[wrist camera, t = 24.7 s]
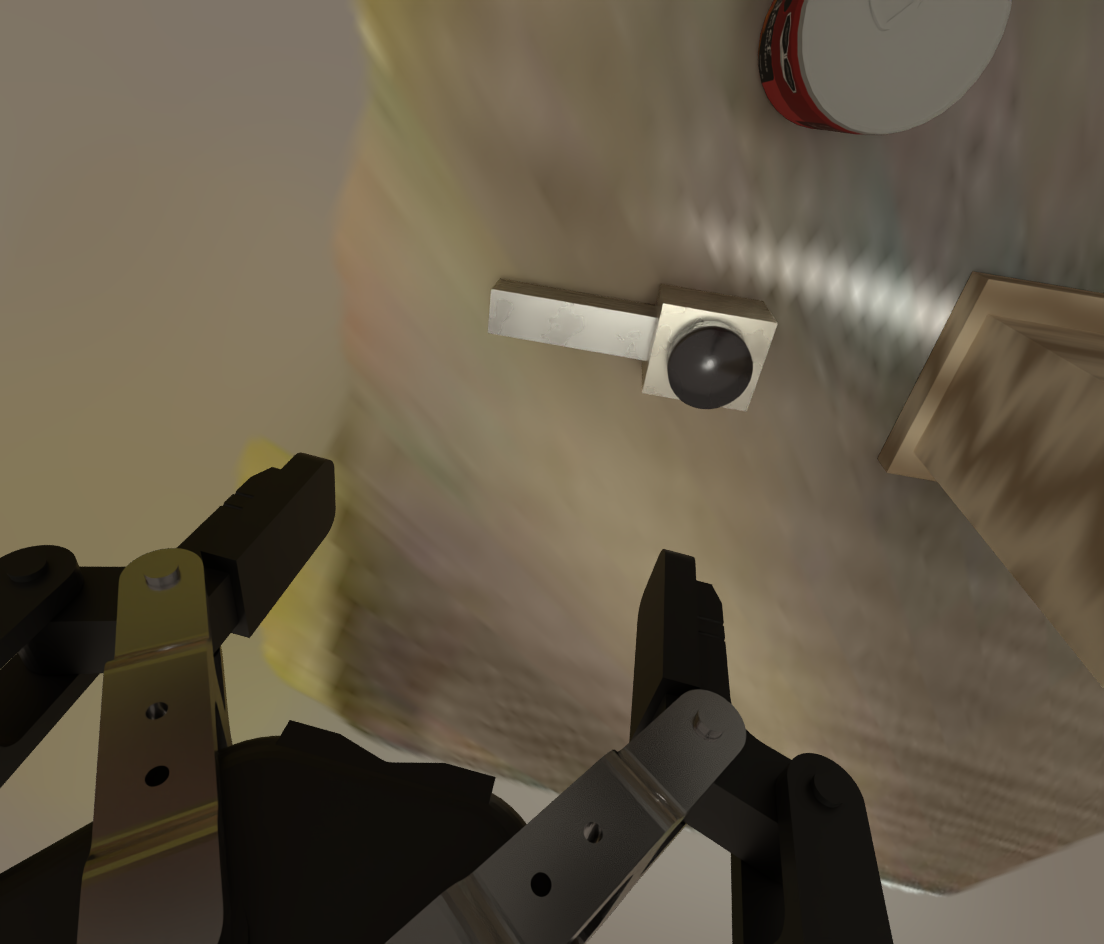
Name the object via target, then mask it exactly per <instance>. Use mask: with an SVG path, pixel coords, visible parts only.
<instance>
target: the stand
mask: <svg viewBox="0 0 1104 944" xmlns="http://www.w3.org/2000/svg"><path fill="white" fill-rule="evenodd" d="M877 459H878V460H879V462H880V463H881V465H882V466H883V468H884V469H885V471H886V472H887V473H892V474H898V475H903V476H909V477H914V478H920V479H925V480H931V481H937V482H938V483H939V484H940V486H941V487H942V488H943V489H944V491H945V492H946V493H947V494H948V496H949V497H950V498H951V499H952V501H953V502H954V503H955V504H956V506H957V507H958V508H959V509H960V510H961V512H962V513H963V514H964V515H965V517H966V518H967V519H968V520H969V522H970V523H971V524H972V525H973V527H974V528H975V529H976V530H977V532H978V533H979V534H980V535H981V537H982V538H983V539H984V540H985V542H986V543H987V544H988V545H989V547H990V548H991V549H992V550H993V552H994V553H995V554H996V555H997V556H998V558H999V559H1000V560H1001V561H1002V563H1003V564H1004V565H1005V566H1006V568H1007V569H1008V570H1009V571H1010V573H1011V574H1012V575H1013V576H1014V578H1015V579H1016V580H1017V581H1018V583H1019V584H1020V585H1021V586H1022V588H1023V589H1024V590H1025V591H1026V593H1027V594H1028V595H1029V596H1030V598H1031V599H1032V600H1033V601H1034V602H1035V604H1036V605H1037V606H1038V607H1039V609H1040V610H1041V611H1042V612H1043V614H1044V615H1045V616H1046V617H1047V619H1048V620H1049V621H1050V622H1051V624H1052V625H1053V626H1054V627H1055V629H1056V630H1057V631H1058V632H1059V634H1060V635H1061V636H1062V637H1063V639H1064V640H1065V641H1066V642H1067V644H1068V645H1069V646H1070V647H1071V648H1072V650H1073V651H1074V652H1075V653H1076V655H1077V656H1078V657H1079V658H1080V660H1081V661H1082V662H1083V663H1084V665H1085V666H1086V667H1087V668H1088V670H1089V671H1090V672H1091V673H1092V675H1093V676H1094V677H1095V678H1096V680H1097V681H1098V682H1099V683H1100V685H1101V686H1102V687H1103V688H1104V293H1098V292H1092V291H1086V290H1080V289H1074V288H1068V287H1062V286H1056V285H1050V284H1045V283H1039V282H1033V281H1027V280H1021V279H1015V278H1009V277H1003V276H997V275H991V274H985V273H979V272H972V274H971V276H970V278H969V280H968V281H967V283H966V285H965V287H964V289H963V291H962V293H961V295H960V297H959V299H958V301H957V303H956V305H955V307H954V309H953V311H952V313H951V315H950V317H949V319H948V321H947V323H946V325H945V327H944V329H943V331H942V333H941V335H940V337H939V339H938V340H937V342H936V344H935V346H934V348H933V350H932V352H931V354H930V356H929V358H928V360H927V362H926V364H925V366H924V368H923V370H922V372H921V374H920V376H919V378H918V380H917V382H916V384H915V386H914V388H913V390H912V392H911V394H910V396H909V398H908V399H907V401H906V403H905V405H904V407H903V409H902V411H901V413H900V415H899V417H898V419H897V421H896V423H895V425H894V427H893V429H892V431H891V433H890V435H889V437H888V439H887V441H886V443H885V445H884V447H883V449H882V451H881V453H880V455H879V457H878V458H877Z"/></svg>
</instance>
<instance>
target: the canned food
mask: <svg viewBox="0 0 1104 944" xmlns="http://www.w3.org/2000/svg"><path fill="white" fill-rule="evenodd" d="M1011 3H1012V0H774V1H773V3H772V5H771V7H770V9H769V11H768V13H767V15H766V18H765V21H764V25H763V28H762V31H761V36H760V43H759V50H758V57H759V72H760V76H761V81H762V85H763V87H764V90H765V92H766V95H767V97H768V99H769V100H770V101H771V103H772V104H773V106H774V107H775V109H776V110H777V111H778V112H779V113H781V114H782V115H783V116H784V117H785V118H786V119H788V120H790V121H792V122H793V123H795V124H797V125H800V126H804V127H808V128H813V129H820V130H828V131H835V132H843V133H851V134H865V135H885V134H891V133H897V132H901V131H906V130H908V129H911V128H913V127H916V126H919V125H921V124H924V123H926V122H928V121H929V120H931V119H933V118H934V117H936V116H938V115H940V114H941V113H943V112H944V111H946V110H947V109H948V108H949V107H950V106H952V105H953V104H954V103H955V102H956V101H958V100H959V99H960V98H961V97H962V96H963V95H964V94H965V93H966V92H967V91H968V89H969V88H970V87H971V86H972V85H973V84H974V83H975V82H976V81H977V80H978V78H979V77H980V75H981V74H982V72H983V71H984V69H985V68H986V66H987V65H988V63H989V62H990V60H991V59H992V57H993V55H994V53H995V51H996V48H997V46H998V44H999V42H1000V40H1001V38H1002V36H1003V33H1004V30H1005V27H1006V23H1007V20H1008V17H1009V14H1010V10H1011Z"/></svg>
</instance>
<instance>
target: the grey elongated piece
mask: <svg viewBox="0 0 1104 944" xmlns="http://www.w3.org/2000/svg"><path fill="white" fill-rule="evenodd" d="M777 324H778V323H777V321H776V320H775V318H774V317H773V315H772V314H771V312H770V311H769V309H768V308H767V306H766V305H765V303H764V302H763V301H760V300H754V299H748V298H742V297H736V296H731V295H725V294H719V293H713V292H707V291H701V290H696V289H690V288H684V287H678V286H672V285H667V284H660V288H659V293H658V297H657V301H656V305H651V304H646V303H640V302H634V301H628V300H622V299H617V298H611V297H605V296H599V295H594V294H588V293H582V292H576V291H570V290H565V289H559V288H553V287H547V286H542V285H536V284H530V283H524V282H518V281H513V280H507V279H501V278H500V279H499V280H498V282H497V283H496V284H495V285H494V286H493V288H492V289H491V299H490V312H489V324H488V333H491V334H497V335H503V336H508V337H514V338H520V339H525V340H531V341H537V342H542V343H548V344H554V345H559V346H565V347H571V348H576V349H582V350H588V351H593V352H599V353H605V354H610V355H616V356H622V357H627V358H633V359H639V360H643V362H642V393H645V394H651V395H657V396H662V397H668V398H673V399H679V400H681V401H683V402H684V403H686V404H688V405H690V406H692V407H695V408H700V409H714V408H718V407H724V408H730V409H735V410H741V411H746V412H747V410H748V407H749V404H750V401H751V398H752V395H753V392H754V390H755V387H756V384H757V381H758V378H759V375H760V372H761V370H762V367H763V364H764V361H765V358H766V355H767V352H768V350H769V347H770V344H771V341H772V338H773V335H774V332H775V330H776V327H777Z"/></svg>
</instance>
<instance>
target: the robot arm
mask: <svg viewBox="0 0 1104 944" xmlns="http://www.w3.org/2000/svg"><path fill="white" fill-rule="evenodd" d="M335 510H336V506H335V474H334V464H333V462H332V461H331V460H328V459H324V458H320V457H317V456H313V455H309V454H305V453H297V454H296V455H295V456H294V457H293V458H292V459H291V460H290V461H289V462H288V463H287V464H286V465H285V466H284V467H283V468H282V469H277V468H274V467H271V468H269V469H267V470H265V471H263V472H260V473H258V474H256V475H254V476H252V477H250V478H249V479H248V480H247V481H246V482H245V483H244V484H243V485H242V486H241V487H240V488H239V489H238V490H237V491H236V493H235V494H233V495H231V496H230V497H229V498H228V499H227V500H226V501H225V502H224V505H223V506H220V507H219V508H218V509H217V510H216V511H215V512H214V513H213V514H212V515H211V516H210V517H208V519H207V520H205V521H204V522H203V523H202V524H201V525H200V526H199V527H198V528H197V529H196V530H195V531H194V532H193V533H192V534H191V535H190V536H189V537H188V538H187V539H186V540H185V541H184V542H182V543H181V544H180V545H179V546H178V547H177V548H167V549H160V550H155V551H152V552H149V553H146V554H144V555H142V556H140V557H138V558H136V559H135V560H133V561H132V562H131V563H130V564H129V565H127V566H126V567H79V565H78V563H77V560H76V558H75V556H74V554H73V553H72V552H71V551H70V550H68V549H66V548H63V547H60V546H54V545H40V546H32V547H27V548H23V549H20V550H17V551H14V552H11V553H9V554H7V555H5V556H3V557H1V558H0V788H1V787H2V785H3V784H4V783H5V782H6V781H7V780H8V779H9V777H10V776H11V775H12V774H13V773H14V772H15V771H16V769H17V768H18V767H19V766H20V765H21V764H22V762H23V761H24V760H25V759H26V758H27V757H28V756H29V754H30V753H31V752H32V751H33V750H34V749H35V748H36V746H37V745H38V744H39V743H40V742H41V741H42V740H43V738H44V737H45V736H46V735H47V734H48V732H49V731H50V730H51V729H52V728H53V727H54V726H55V725H56V723H57V722H58V721H59V720H60V719H61V718H62V716H63V715H64V714H65V713H66V712H67V711H68V710H69V708H70V707H71V706H72V705H73V704H74V703H75V701H76V700H77V699H78V698H79V697H80V696H81V694H82V693H83V692H84V691H85V690H86V689H87V688H88V687H89V685H90V684H91V683H92V682H93V681H94V680H95V678H96V677H97V676H98V675H99V674H100V673H104V675H103V688H102V702H101V716H100V731H99V745H98V760H97V773H96V789H95V802H94V817H93V822H91V823H89V824H87V825H86V826H84V827H82V828H80V829H79V830H77V831H75V832H73V833H71V834H70V835H68V836H66V837H64V838H63V839H61V840H59V841H57V842H55V843H54V844H52V845H50V846H49V847H47V848H45V849H43V850H41V851H40V852H38V853H36V854H34V855H32V856H31V857H29V858H27V859H25V860H24V861H22V862H20V863H18V864H17V865H15V866H13V867H11V868H9V869H8V870H6V871H4V872H2V873H1V874H0V944H586V943H587V942H588V941H589V939H590V938H591V937H592V936H593V935H594V934H595V933H596V931H597V930H598V929H599V928H600V927H601V926H602V924H603V923H604V922H605V921H606V920H607V919H608V917H609V916H610V915H611V914H612V912H613V911H614V910H615V909H616V908H617V906H618V905H619V904H620V903H621V902H622V900H623V899H624V898H625V896H626V895H627V894H628V892H629V891H630V890H631V889H632V888H633V886H634V885H635V884H636V883H637V882H638V880H639V879H640V878H641V877H642V876H643V875H644V873H645V872H646V871H647V870H648V869H649V868H650V867H651V865H652V864H653V863H654V862H655V861H656V860H657V858H658V857H659V856H660V855H661V854H662V853H663V852H664V850H665V849H666V848H667V847H668V846H669V845H670V843H671V842H672V841H673V840H674V839H675V837H677V835H678V834H679V833H680V832H681V831H682V830H683V828H684V827H685V826H686V825H687V824H688V825H690V826H691V827H693V828H694V829H696V830H697V831H699V832H700V833H702V834H703V835H705V836H706V837H708V838H709V839H711V840H713V841H714V842H715V843H717V844H718V845H720V846H721V847H723V848H724V849H726V850H728V851H729V852H730V853H731V884H732V885H731V889H732V940H733V941H732V942H733V943H732V944H893V939H892V935H891V930H890V925H889V920H888V915H887V910H886V905H885V900H884V895H883V890H882V886H881V881H880V876H879V871H878V866H877V861H876V856H875V851H874V846H873V841H872V837H871V832H870V827H869V822H868V817H867V812H866V807H865V803H864V799H863V796H862V794H861V792H860V790H859V788H858V786H857V784H856V783H855V782H854V780H853V779H852V777H851V776H850V775H849V774H848V773H847V772H846V771H845V770H844V769H843V768H842V767H841V766H839V765H838V764H837V763H835V762H834V761H832V760H830V759H828V758H827V757H824V756H822V755H818V754H814V753H803V754H800V755H798V756H796V757H795V758H793V760H791V759H789V758H787V757H786V756H784V755H782V754H780V753H779V752H777V751H775V750H774V749H772V748H770V747H769V746H767V745H765V744H764V743H762V742H761V741H759V740H758V739H756V738H755V737H754V736H753V735H751V734H750V733H749V732H748V731H747V730H746V729H745V725H744V722H743V720H742V718H741V716H740V714H739V713H738V711H737V710H736V709H735V707H734V706H733V705H732V704H731V699H730V689H729V678H728V666H727V655H726V644H725V642H724V639H725V633H724V626H723V623H724V621H723V610H722V603H721V601H720V599H719V597H718V595H717V594H716V592H715V590H714V588H713V586H712V584H708V583H704V582H700V581H697V580H696V566H695V558H694V557H692V556H689V555H685V554H681V553H677V552H673V551H670V550H666V549H663V550H662V551H661V552H660V554H659V557H658V559H657V561H656V564H655V566H654V569H653V571H652V574H651V576H650V578H649V581H648V583H647V586H646V588H645V590H644V593H643V596H642V599H641V603H640V607H639V613H638V622H637V637H636V652H635V666H634V681H633V696H632V711H631V726H630V741H629V743H628V744H627V745H626V746H625V747H624V748H623V749H622V750H620V751H618V752H617V751H616V750H612V751H610V752H608V753H607V754H606V755H604V756H603V757H602V758H601V759H600V760H598V761H597V762H596V763H595V764H594V765H593V766H592V767H591V768H589V769H588V770H587V771H586V772H585V773H584V774H583V775H582V776H580V777H579V778H578V779H577V780H576V781H575V782H574V783H573V784H571V785H570V786H569V787H568V788H567V789H566V790H565V791H564V792H562V793H561V794H560V795H559V796H558V797H557V798H556V799H555V800H554V801H552V802H551V803H550V804H549V805H548V806H547V807H546V808H545V809H543V810H542V811H541V812H540V813H539V814H538V815H537V816H536V817H535V818H533V819H532V820H531V821H530V822H529V823H528V824H526V823H525V821H524V820H523V819H522V817H521V816H520V815H519V814H518V813H517V812H516V811H515V810H514V809H513V808H512V807H511V806H510V805H508V804H507V803H506V802H505V801H503V800H502V799H501V798H499V797H497V796H496V795H494V794H493V793H492V789H493V785H494V781H495V777H493V776H490V775H486V774H482V773H479V772H475V771H471V770H468V769H464V768H461V767H457V766H453V765H450V764H446V763H392V762H386V761H384V760H382V759H380V758H378V757H377V756H375V755H373V754H372V753H370V752H368V751H367V750H365V749H364V748H362V747H360V746H359V745H357V744H355V743H354V742H352V741H351V740H349V739H347V738H346V737H344V736H342V735H341V734H338V733H335V732H331V731H327V730H323V729H320V728H317V727H313V726H309V725H306V724H302V723H299V722H295V721H291V720H289V722H288V724H287V726H286V727H285V729H284V731H283V732H282V734H281V736H269V737H260V738H255V739H251V740H246V741H243V742H240V743H237V744H234V745H232V739H231V734H230V726H229V718H228V708H227V699H226V687H225V676H224V666H223V656H222V649H221V645H222V643H223V642H224V641H225V640H226V638H227V637H228V636H229V634H230V633H233V634H237V635H241V636H244V637H248V638H250V637H251V635H252V634H253V633H254V631H255V630H256V629H257V627H258V626H259V625H260V623H261V622H262V621H263V619H264V618H265V617H266V616H267V614H268V613H269V612H270V610H271V609H272V608H273V606H274V605H275V604H276V602H277V601H278V600H279V598H280V597H281V596H282V594H283V593H284V592H285V590H286V589H287V588H288V586H289V585H290V584H291V582H292V581H293V580H294V578H295V577H296V576H297V574H298V573H299V572H300V570H301V569H302V568H303V566H304V565H305V564H306V562H307V561H308V560H309V558H310V557H311V556H312V554H313V553H314V552H315V550H316V549H317V548H318V546H319V545H320V544H321V542H322V541H323V540H324V538H325V537H326V536H327V534H328V532H329V531H330V529H331V526H332V524H333V521H334V517H335ZM10 659H11V660H10ZM9 660H10V661H9ZM8 661H9V662H8ZM7 662H8V663H7ZM6 663H7V664H6ZM5 664H6V665H5ZM4 665H5V666H4ZM3 666H4V667H3ZM2 667H3V668H2ZM1 668H2V669H1Z"/></svg>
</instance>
